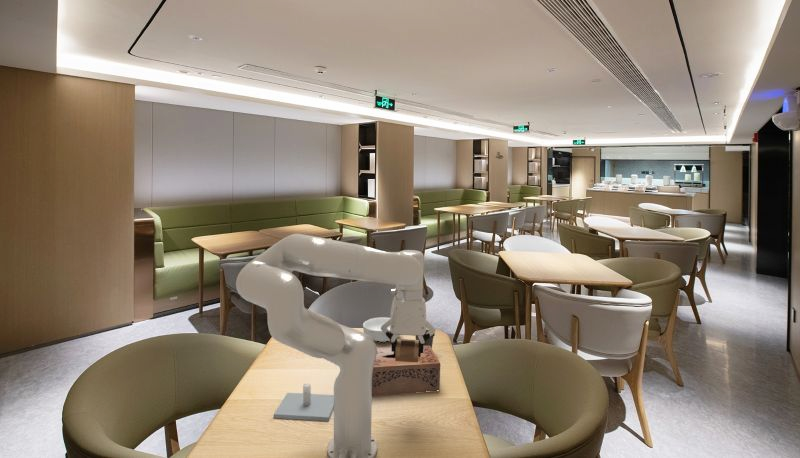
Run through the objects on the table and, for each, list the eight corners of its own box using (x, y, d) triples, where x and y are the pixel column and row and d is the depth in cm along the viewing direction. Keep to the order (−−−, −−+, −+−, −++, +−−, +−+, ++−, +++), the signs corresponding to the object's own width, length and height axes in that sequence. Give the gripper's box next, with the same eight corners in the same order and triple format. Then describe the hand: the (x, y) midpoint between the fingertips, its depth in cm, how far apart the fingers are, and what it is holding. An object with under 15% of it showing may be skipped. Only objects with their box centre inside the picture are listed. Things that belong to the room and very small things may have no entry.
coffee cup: (433, 360, 159) (434, 335, 157) (412, 358, 160) (413, 334, 159) (434, 352, 167) (435, 328, 165) (414, 350, 168) (415, 326, 167)
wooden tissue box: (418, 362, 116) (418, 348, 116) (395, 361, 117) (395, 347, 116) (418, 353, 123) (418, 340, 122) (396, 351, 123) (397, 338, 122)
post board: (328, 421, 118) (328, 397, 117) (273, 418, 119) (273, 394, 118) (337, 398, 130) (337, 377, 129) (287, 396, 131) (287, 374, 130)
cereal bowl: (386, 329, 191) (386, 314, 190) (409, 340, 178) (410, 324, 177) (355, 337, 180) (355, 322, 179) (378, 350, 167) (378, 333, 166)
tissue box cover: (428, 371, 150) (429, 345, 149) (439, 392, 136) (440, 363, 135) (357, 376, 146) (357, 349, 145) (361, 397, 132) (361, 367, 131)
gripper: (377, 296, 114) (375, 358, 116) (440, 299, 113) (437, 361, 115) (380, 289, 122) (378, 347, 124) (439, 291, 121) (437, 350, 123)
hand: (407, 354), depth 119 cm, fingers closed on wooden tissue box, 6 cm apart
